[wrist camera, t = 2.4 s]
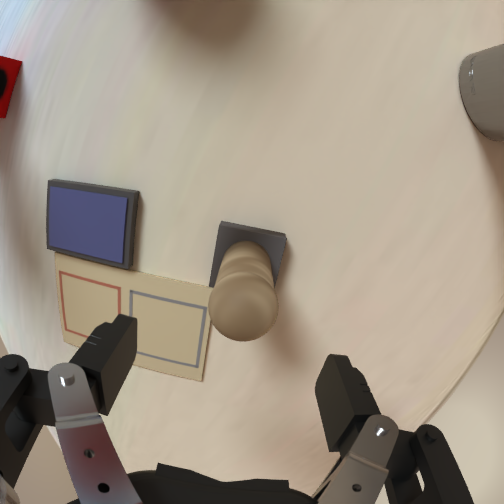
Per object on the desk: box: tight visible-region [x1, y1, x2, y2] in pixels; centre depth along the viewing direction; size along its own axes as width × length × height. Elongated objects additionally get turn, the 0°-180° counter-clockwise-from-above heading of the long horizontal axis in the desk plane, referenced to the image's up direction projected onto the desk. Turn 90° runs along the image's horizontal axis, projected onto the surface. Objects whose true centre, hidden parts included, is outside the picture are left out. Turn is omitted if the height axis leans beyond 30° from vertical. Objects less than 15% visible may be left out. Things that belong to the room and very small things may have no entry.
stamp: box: [208, 221, 287, 341], centre depth 19 cm, size 5×5×10 cm
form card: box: [55, 251, 213, 381], centre depth 26 cm, size 16×11×1 cm, turn 78°
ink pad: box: [46, 179, 139, 269], centre depth 22 cm, size 9×6×1 cm
